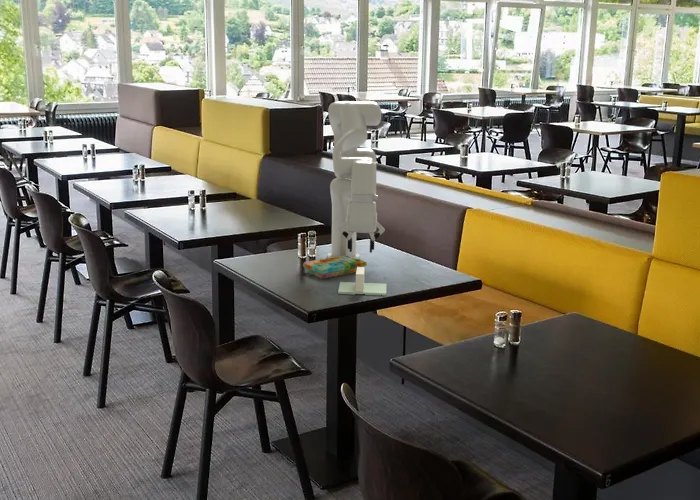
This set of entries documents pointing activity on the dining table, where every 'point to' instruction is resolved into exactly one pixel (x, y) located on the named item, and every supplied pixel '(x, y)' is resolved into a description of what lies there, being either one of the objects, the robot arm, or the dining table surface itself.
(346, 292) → the mat
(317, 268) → the puzzle game
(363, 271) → the card box
